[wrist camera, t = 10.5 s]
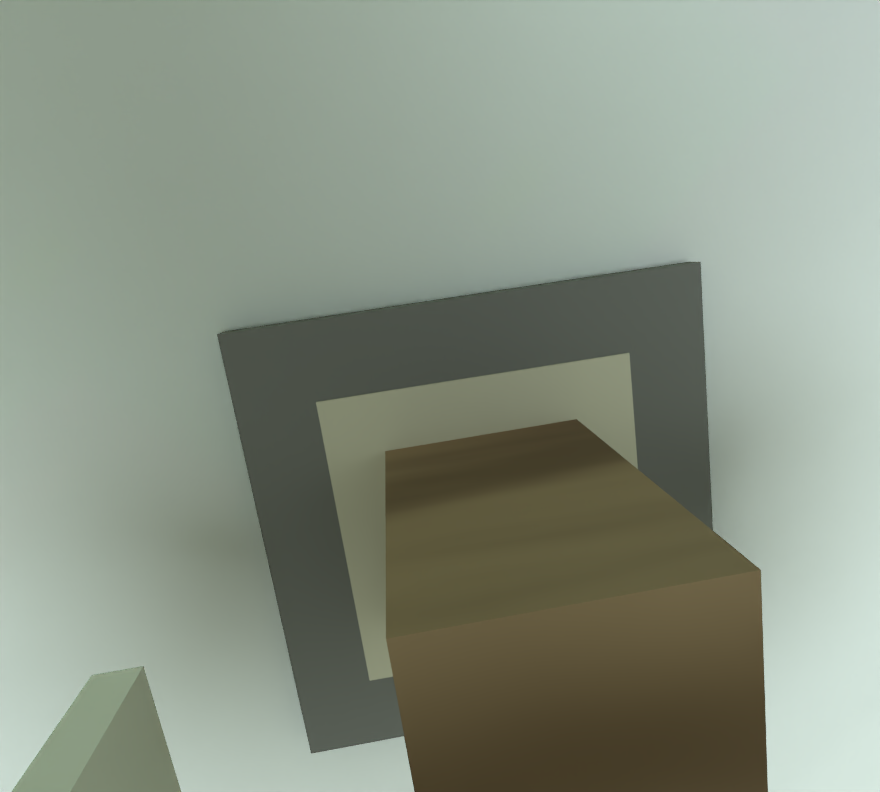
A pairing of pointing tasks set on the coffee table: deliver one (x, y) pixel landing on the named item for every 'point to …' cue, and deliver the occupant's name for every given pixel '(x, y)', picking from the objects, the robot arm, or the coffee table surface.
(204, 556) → the coffee table surface
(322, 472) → the mat
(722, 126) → the coffee table surface
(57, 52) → the coffee table surface
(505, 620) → the walnut block
